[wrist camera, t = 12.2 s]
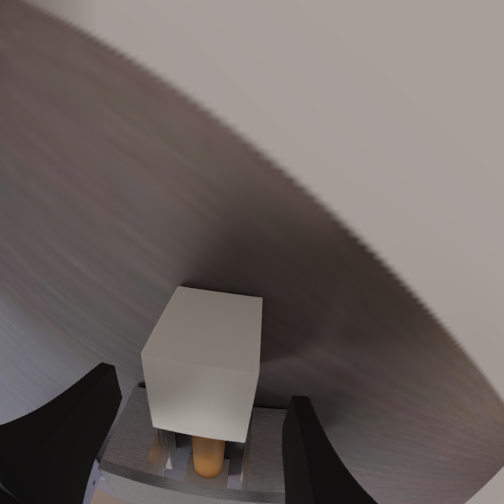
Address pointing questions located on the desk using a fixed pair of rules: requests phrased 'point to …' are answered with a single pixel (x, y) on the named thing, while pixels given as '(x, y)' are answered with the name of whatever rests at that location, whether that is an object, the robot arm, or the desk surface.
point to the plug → (204, 374)
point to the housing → (164, 452)
